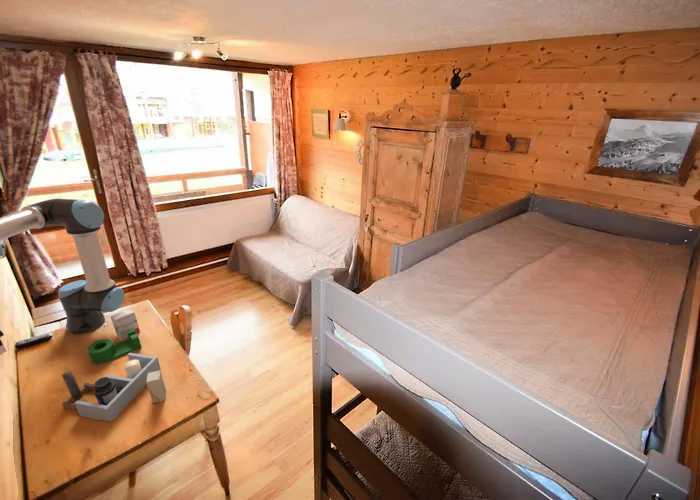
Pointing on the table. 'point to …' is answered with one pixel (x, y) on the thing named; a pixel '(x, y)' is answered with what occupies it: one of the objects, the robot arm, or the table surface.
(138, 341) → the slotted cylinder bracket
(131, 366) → the cream canister
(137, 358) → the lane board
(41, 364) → the table surface
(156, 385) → the box
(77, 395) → the wooden frame with peg
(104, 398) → the pill bottle
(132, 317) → the ink box
